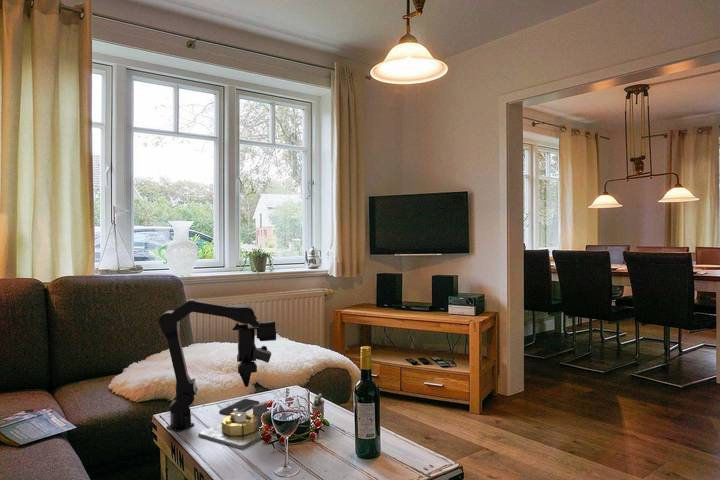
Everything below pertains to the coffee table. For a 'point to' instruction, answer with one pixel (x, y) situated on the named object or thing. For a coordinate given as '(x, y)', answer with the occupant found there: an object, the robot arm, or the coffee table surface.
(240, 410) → the phone
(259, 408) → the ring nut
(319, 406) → the lighter
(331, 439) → the coffee table surface
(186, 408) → the robot arm
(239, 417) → the grey base plate
